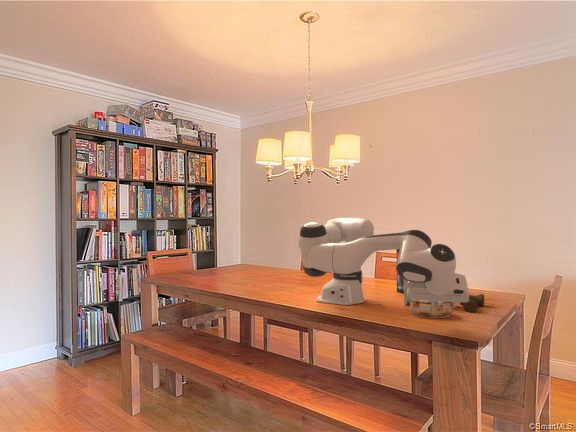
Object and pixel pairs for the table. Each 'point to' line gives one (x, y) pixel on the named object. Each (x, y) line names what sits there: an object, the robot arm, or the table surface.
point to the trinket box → (430, 309)
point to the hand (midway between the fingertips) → (435, 304)
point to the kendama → (473, 303)
